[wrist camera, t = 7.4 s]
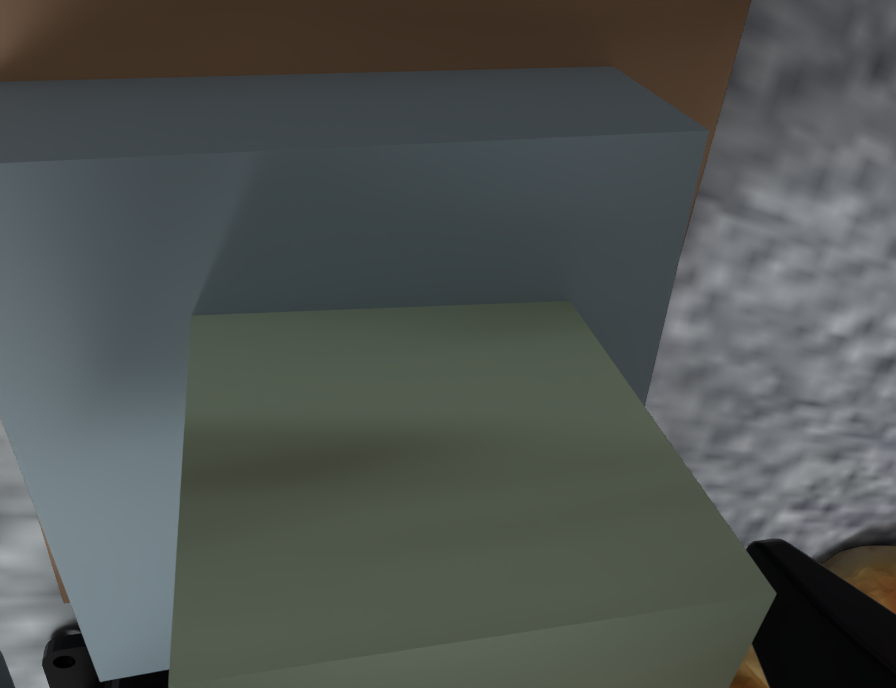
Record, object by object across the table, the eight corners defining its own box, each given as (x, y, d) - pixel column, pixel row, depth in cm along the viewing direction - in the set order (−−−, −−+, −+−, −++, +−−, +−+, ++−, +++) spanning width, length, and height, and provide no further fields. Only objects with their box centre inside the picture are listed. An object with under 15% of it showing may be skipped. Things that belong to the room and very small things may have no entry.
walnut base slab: (559, 449, 21) (602, 531, 19) (85, 498, 18) (63, 603, 16) (663, -34, 14) (751, -2, 12) (-60, -76, 12) (-134, -45, 9)
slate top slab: (548, 481, 17) (601, 591, 15) (119, 544, 15) (99, 681, 13) (613, 65, 12) (709, 130, 10) (-19, 81, 10) (-94, 167, 8)
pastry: (840, 504, 25) (927, 602, 22) (937, 553, 28) (1023, 643, 25) (647, 676, 28) (699, 781, 25) (754, 701, 32) (811, 797, 28)
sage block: (516, 547, 13) (641, 859, 9) (218, 584, 12) (215, 962, 8) (569, 300, 11) (777, 593, 7) (191, 315, 9) (168, 685, 5)
